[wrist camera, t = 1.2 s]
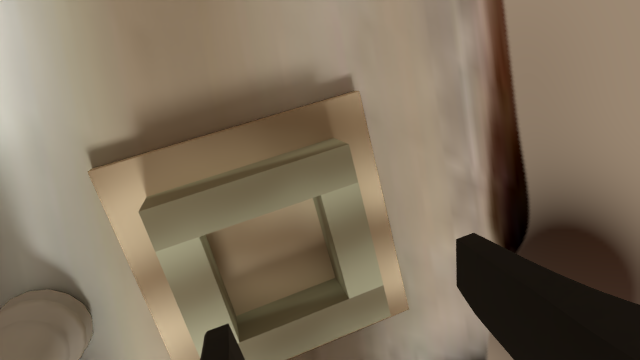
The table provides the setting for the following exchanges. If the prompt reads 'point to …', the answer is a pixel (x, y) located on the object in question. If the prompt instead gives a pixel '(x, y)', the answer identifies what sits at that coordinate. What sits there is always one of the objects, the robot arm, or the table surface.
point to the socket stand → (259, 232)
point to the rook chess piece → (44, 327)
